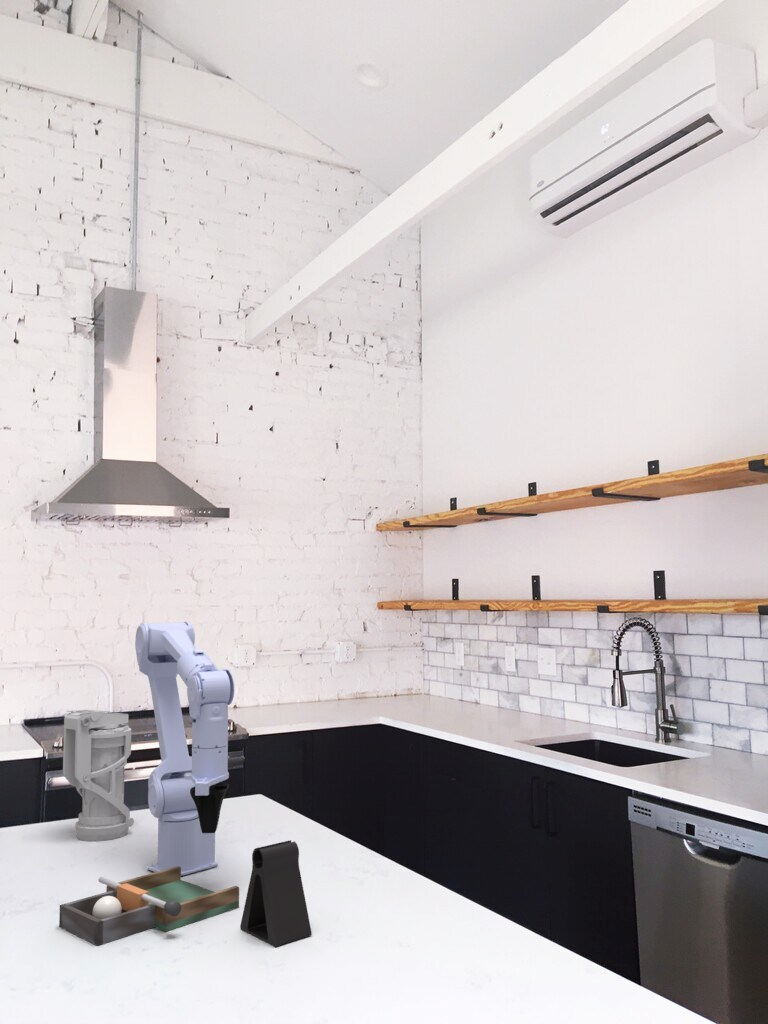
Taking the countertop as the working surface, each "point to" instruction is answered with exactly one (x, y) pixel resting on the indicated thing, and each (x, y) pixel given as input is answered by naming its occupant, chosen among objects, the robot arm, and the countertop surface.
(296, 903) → the phone stand
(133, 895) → the kicker
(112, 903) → the ball
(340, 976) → the countertop surface
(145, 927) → the pitch
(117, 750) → the lantern
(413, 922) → the countertop surface
